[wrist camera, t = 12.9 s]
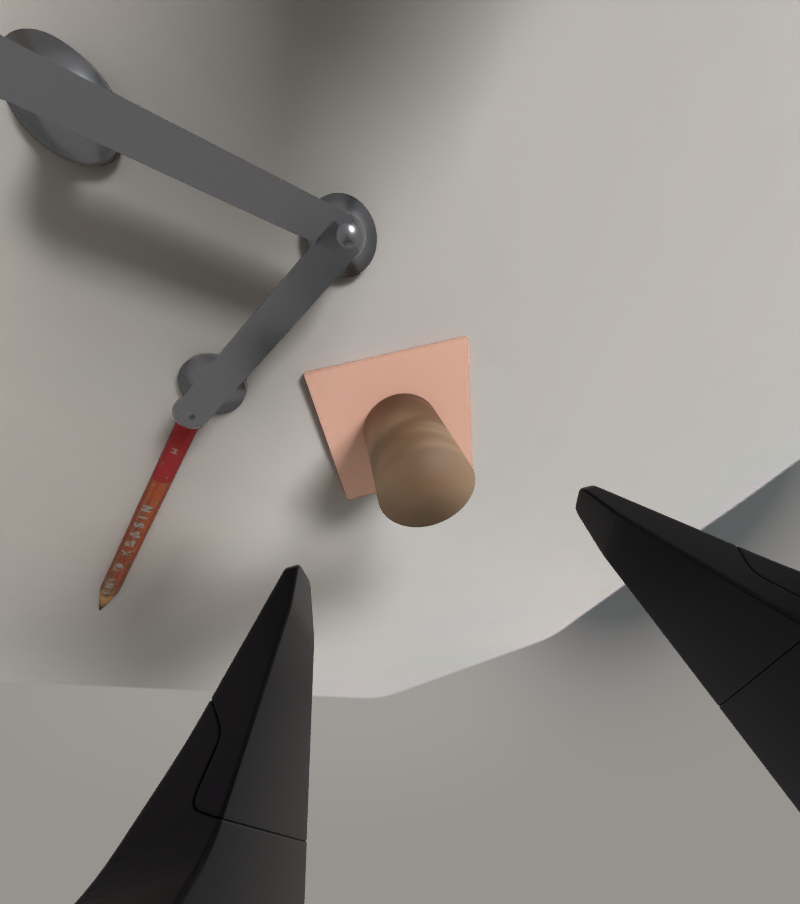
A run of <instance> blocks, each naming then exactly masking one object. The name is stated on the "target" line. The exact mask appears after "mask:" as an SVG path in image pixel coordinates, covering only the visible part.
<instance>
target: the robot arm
mask: <svg viewBox="0 0 800 904" xmlns="http://www.w3.org/2000/svg"><path fill="white" fill-rule="evenodd" d="M576 511H577V513H578V515H579V517H580V518H581V520H582V522H583V523H584V525H585V526H586V528H587V530H588V531H589V533H590V535H591V536H592V538H593V539H594V541H595V543H596V544H597V546H598V548H599V549H600V551H601V552H602V554H603V555H604V557H605V558H606V559H607V561H608V562H609V563H610V565H611V566H612V567H613V569H614V570H615V571H616V572H617V574H618V575H619V576H620V578H621V579H622V580H623V582H624V583H625V584H626V586H627V587H628V588H629V589H630V591H631V592H632V593H633V595H634V596H635V597H636V599H637V600H638V601H639V602H640V604H641V605H642V606H643V608H644V609H645V610H646V612H647V613H648V614H649V616H650V617H651V618H652V619H653V621H654V622H655V623H656V625H657V626H658V627H659V629H660V630H661V631H662V633H663V634H664V635H665V636H666V638H667V639H668V640H669V642H670V643H671V644H672V646H673V647H674V648H675V650H676V651H677V652H678V653H679V655H680V656H681V657H682V659H683V660H684V661H685V662H686V664H687V665H688V667H689V668H690V669H691V670H692V672H693V673H694V674H695V676H696V677H697V678H698V680H699V681H700V682H701V683H702V685H703V686H704V687H705V688H706V690H707V691H708V692H709V694H710V695H711V697H712V698H713V699H714V701H715V702H716V703H717V704H718V705H719V706H720V709H721V710H722V711H723V713H724V714H725V715H726V717H727V718H728V719H729V720H730V722H731V723H732V724H733V726H734V727H735V728H736V730H737V731H738V732H739V734H740V735H741V736H742V737H743V739H744V740H745V741H746V743H747V744H748V745H749V747H751V749H752V750H753V752H754V753H755V754H756V756H757V757H758V758H759V759H760V761H761V762H762V763H763V765H764V766H765V767H766V769H767V770H768V771H769V773H770V774H771V775H772V777H773V778H774V779H775V781H776V782H777V783H778V784H779V786H780V787H781V788H782V790H783V791H784V792H785V794H786V795H787V796H788V798H789V799H790V800H791V801H792V803H793V804H794V805H795V807H796V808H797V809H798V811H799V812H800V571H797V570H795V569H792V568H789V567H787V566H784V565H782V564H779V563H777V562H775V561H772V560H770V559H767V558H765V557H762V556H760V555H757V554H755V553H753V552H750V551H748V550H746V549H743V548H741V547H736V546H735V545H734V544H731V543H729V542H726V541H724V540H722V539H720V538H717V537H715V536H712V535H710V534H708V533H705V532H703V531H701V530H698V529H696V528H694V527H691V526H689V525H686V524H684V523H682V522H679V521H677V520H675V519H672V518H670V517H668V516H665V515H663V514H661V513H658V512H656V511H653V510H651V509H649V508H646V507H644V506H642V505H639V504H637V503H635V502H632V501H630V500H627V499H625V498H623V497H620V496H618V495H616V494H613V493H611V492H609V491H606V490H604V489H601V488H599V487H597V486H588V487H584V488H581V489H580V490H579V494H578V498H577V503H576ZM313 656H314V630H313V616H312V602H311V588H310V582H309V580H308V578H307V576H306V574H305V573H304V571H303V569H302V568H301V566H300V565H295V566H292V567H288V568H286V569H285V570H284V571H283V573H282V575H281V577H280V578H279V580H278V582H277V584H276V586H275V587H274V589H273V591H272V593H271V594H270V596H269V598H268V600H267V601H266V603H265V605H264V607H263V608H262V610H261V612H260V614H259V616H258V617H257V619H256V621H255V623H254V624H253V626H252V628H251V630H250V631H249V633H248V635H247V637H246V638H245V640H244V642H243V644H242V645H241V647H240V649H239V651H238V653H237V654H236V656H235V658H234V660H233V661H232V663H231V665H230V667H229V668H228V670H227V672H226V674H225V675H224V677H223V679H222V681H221V683H220V684H219V686H218V688H217V690H216V691H215V693H214V695H213V697H212V701H210V702H209V703H208V705H207V707H206V709H205V711H204V712H203V714H202V716H201V718H200V719H199V721H198V723H197V725H196V726H195V728H194V729H193V731H192V733H191V735H190V736H189V738H188V740H187V741H186V743H185V745H184V746H183V748H182V749H181V751H180V753H179V754H178V756H177V757H176V759H175V761H174V762H173V764H172V765H171V767H170V769H169V770H168V771H167V773H166V775H165V776H164V778H163V779H162V781H161V782H160V784H159V785H158V787H157V788H156V790H155V791H154V793H153V795H152V796H151V797H150V799H149V801H148V802H147V804H146V805H145V807H144V808H143V810H142V811H141V813H140V814H139V816H138V817H137V819H136V820H135V822H134V823H133V825H132V827H131V828H130V829H129V831H128V832H127V834H126V836H125V837H124V839H123V840H122V842H121V843H120V845H119V846H118V848H117V849H116V851H115V852H114V854H113V855H112V857H111V858H110V859H109V861H108V862H107V864H106V866H105V867H104V868H103V869H102V871H101V872H100V873H99V875H98V876H97V877H96V879H95V880H94V881H93V882H92V884H91V885H90V886H89V887H88V889H87V890H86V891H85V892H84V894H83V895H82V896H81V897H80V898H79V899H78V900H77V902H76V903H75V904H304V899H305V871H306V845H307V843H306V842H305V841H306V839H307V815H308V788H309V762H310V735H311V708H312V682H313Z"/></svg>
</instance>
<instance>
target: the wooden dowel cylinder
mask: <svg viewBox="0 0 800 904" xmlns="http://www.w3.org/2000/svg"><path fill="white" fill-rule="evenodd" d="M364 435H365V440H366V445H367V450H368V454H369V459H370V464H371V469H372V473H373V478H374V483H375V488H376V493H377V497H378V502H379V505H380V508H381V510H382V512H383V513H384V514H385V515H386V516H387V517H388V518H389V519H390V520H392V521H393V522H395V523H397V524H400V525H403V526H408V527H424V526H430V525H434V524H437V523H440V522H442V521H444V520H446V519H448V518H450V517H451V516H453V515H454V514H456V513H457V512H458V511H459V510H460V509H462V508H463V506H464V505H465V504H466V503H467V501H468V500H469V499H470V497H471V495H472V492H473V490H474V486H475V474H474V470H473V468H472V466H471V464H470V463H469V461H468V460H467V458H466V457H465V455H464V454H463V452H462V450H461V449H460V447H459V446H458V444H457V443H456V441H455V440H454V438H453V437H452V435H451V434H450V432H449V431H448V429H447V428H446V426H445V425H444V423H443V422H442V420H441V419H440V417H439V416H438V414H437V413H436V411H435V410H434V408H433V407H432V405H431V404H430V403H429V402H428V401H427V400H425V399H424V398H422V397H420V396H417V395H414V394H407V393H402V394H395V395H392V396H389V397H387V398H385V399H383V400H381V401H380V402H379V403H377V404H376V405H375V406H374V407H373V408H372V410H371V411H370V412H369V414H368V416H367V418H366V421H365V425H364Z"/></svg>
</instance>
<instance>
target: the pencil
mask: <svg viewBox="0 0 800 904" xmlns="http://www.w3.org/2000/svg"><path fill="white" fill-rule="evenodd" d="M197 429H198V428H197ZM197 429H189V428H185V427H183V426H181V425H179V424H178V423H177V422H176V424H175V426H174V428H173V430H172V433H171V435H170V437H169V439H168V441H167V443H166V446H165V448H164V450H163V452H162V454H161V457H160V459H159V461H158V463H157V465H156V468H155V470H154V472H153V474H152V476H151V478H150V481H149V483H148V485H147V487H146V489H145V492H144V494H143V496H142V498H141V500H140V503H139V505H138V507H137V509H136V511H135V513H134V516H133V518H132V520H131V522H130V524H129V527H128V529H127V531H126V533H125V535H124V538H123V540H122V542H121V544H120V546H119V548H118V551H117V553H116V555H115V557H114V559H113V562H112V564H111V566H110V568H109V570H108V573H107V575H106V577H105V579H104V581H103V583H102V586H101V589H100V604H99V610H101V609H102V608H103V607H104V606H105V605H106V604H107V603H108V602H109V601H110V600H111V599H112V598H113V597H114V596H115V595H116V594H117V593H118V592H119V590H120V587H121V585H122V583H123V581H124V579H125V577H126V575H127V573H128V571H129V569H130V567H131V565H132V563H133V561H134V559H135V557H136V555H137V553H138V550H139V548H140V546H141V544H142V542H143V540H144V538H145V536H146V534H147V532H148V530H149V528H150V526H151V524H152V522H153V520H154V518H155V516H156V513H157V511H158V509H159V507H160V505H161V503H162V501H163V499H164V497H165V495H166V493H167V491H168V489H169V487H170V485H171V483H172V481H173V479H174V477H175V474H176V472H177V470H178V468H179V466H180V464H181V462H182V460H183V458H184V456H185V454H186V452H187V450H188V448H189V446H190V444H191V442H192V440H193V437H194V435H195V433H196V431H197Z"/></svg>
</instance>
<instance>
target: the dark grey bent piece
mask: <svg viewBox="0 0 800 904" xmlns="http://www.w3.org/2000/svg"><path fill="white" fill-rule="evenodd" d="M0 99H4V100H6V101H7V103H8V104H9V106H10V108H11V110H12V111H13V113H14V114H15V116H16V117H17V119H18V120H19V121H20V123H21V124H22V125H23V126H24V127H25V129H26V130H27V131H28V132H29V133H30V134H31V135H32V136H33V137H34V138H35V139H36V140H37V141H39V142H40V143H41V144H42V145H43V146H45V147H46V148H48V149H49V150H51V151H52V152H54V153H56V154H57V155H59V156H61V157H63V158H66V159H68V160H71V161H74V162H77V163H80V164H84V165H89V166H100V165H104V164H107V163H109V162H111V161H113V160H114V159H115V158H116V157H117V156H118V154H119V153H121V154H123V155H125V156H127V157H129V158H132V159H134V160H136V161H138V162H140V163H142V164H145V165H147V166H149V167H151V168H153V169H156V170H158V171H160V172H162V173H164V174H166V175H169V176H171V177H173V178H175V179H177V180H179V181H182V182H184V183H186V184H188V185H190V186H192V187H195V188H197V189H199V190H201V191H203V192H205V193H208V194H210V195H212V196H214V197H216V198H218V199H221V200H223V201H225V202H227V203H229V204H231V205H234V206H236V207H238V208H240V209H242V210H244V211H247V212H249V213H251V214H253V215H255V216H257V217H260V218H262V219H264V220H266V221H268V222H270V223H273V224H275V225H277V226H279V227H281V228H283V229H286V230H288V231H290V232H292V233H294V234H296V235H299V236H301V237H303V238H305V239H307V242H308V246H309V249H308V251H307V252H306V253H305V254H304V255H303V257H302V258H301V259H300V260H299V261H298V262H297V264H296V265H295V266H294V267H293V268H292V269H291V271H290V272H289V273H288V274H287V275H286V277H285V278H284V279H283V280H282V281H281V282H280V284H279V285H278V286H277V287H276V288H275V289H274V291H273V292H272V293H271V294H270V295H269V297H268V298H267V299H266V300H265V301H264V302H263V304H262V305H261V306H260V307H259V308H258V309H257V311H256V312H255V313H254V314H253V315H252V317H251V318H250V319H249V320H248V321H247V322H246V324H245V325H244V326H243V327H242V328H241V329H240V331H239V332H238V333H237V334H236V335H235V337H234V338H233V339H232V340H231V341H230V342H229V344H228V345H227V346H226V347H225V348H224V349H223V351H222V352H221V353H220V354H219V355H216V354H199V355H196V356H194V357H192V358H190V359H189V360H188V361H187V362H186V363H185V364H183V366H182V367H181V369H180V371H179V374H178V384H179V388H180V390H181V392H182V394H183V395H184V396H183V397H182V398H180V399H178V400H177V401H176V402H175V403H174V405H173V408H172V415H173V418H174V420H175V421H176V422H177V423H178V424H179V425H181V426H183V427H185V428H189V429H197V428H201V427H203V426H204V425H206V424H207V423H208V422H209V420H210V418H211V416H212V415H213V414H214V413H226V412H230V411H232V410H234V409H236V408H237V407H238V406H239V405H240V404H241V403H242V401H243V399H244V397H245V395H246V391H247V383H246V378H247V376H248V375H249V374H250V373H251V372H252V371H253V370H254V369H255V368H256V366H257V365H258V364H259V363H260V362H261V361H262V360H263V359H264V358H265V356H266V355H267V354H268V353H269V352H270V351H271V350H272V349H273V348H274V346H275V345H276V344H277V343H278V342H279V341H280V340H281V339H282V338H283V337H284V335H285V334H286V333H287V332H288V331H289V330H290V329H291V328H292V327H293V325H294V324H295V323H296V322H297V321H298V320H299V319H300V318H301V317H302V315H303V314H304V313H305V312H306V311H307V310H308V309H309V308H310V307H311V305H312V304H313V303H314V302H315V301H316V300H317V299H318V298H319V297H320V295H321V294H322V293H323V292H324V291H325V290H326V289H327V288H328V287H329V286H330V284H331V283H332V282H333V281H334V280H335V279H336V278H337V277H338V276H340V277H351V276H354V275H357V274H359V273H360V272H362V271H363V270H364V269H366V267H367V266H368V265H369V264H370V262H371V261H372V259H373V256H374V254H375V250H376V243H377V235H376V229H375V225H374V222H373V219H372V217H371V215H370V213H369V212H368V210H367V209H366V207H365V206H364V205H363V204H362V203H361V202H360V201H358V200H357V199H356V198H354V197H352V196H350V195H347V194H343V193H332V194H329V195H326V196H324V197H323V198H321V199H319V198H317V197H315V196H313V195H311V194H309V193H307V192H305V191H303V190H301V189H299V188H297V187H295V186H293V185H291V184H289V183H287V182H286V181H284V180H282V179H280V178H278V177H276V176H274V175H272V174H270V173H268V172H266V171H264V170H262V169H260V168H258V167H256V166H254V165H252V164H250V163H249V162H247V161H245V160H243V159H241V158H239V157H237V156H235V155H233V154H231V153H229V152H227V151H225V150H223V149H221V148H219V147H217V146H215V145H214V144H212V143H210V142H208V141H206V140H204V139H202V138H200V137H198V136H196V135H194V134H192V133H190V132H188V131H186V130H184V129H182V128H180V127H179V126H177V125H175V124H173V123H171V122H169V121H167V120H165V119H163V118H161V117H159V116H157V115H155V114H153V113H151V112H149V111H147V110H145V109H143V108H142V107H140V106H138V105H136V104H134V103H132V102H130V101H128V100H126V99H124V98H122V97H120V96H118V95H116V94H114V93H112V91H111V89H110V88H109V86H108V85H107V83H106V82H105V80H104V79H103V78H102V76H101V75H100V74H99V73H98V71H97V70H96V69H95V68H94V67H93V66H92V65H91V64H90V63H89V62H88V61H87V60H86V59H85V58H84V57H82V56H81V55H80V54H79V53H77V52H76V51H75V50H74V49H72V48H71V47H70V46H68V45H67V44H65V43H64V42H63V41H61V40H59V39H58V38H56V37H54V36H52V35H50V34H48V33H45V32H42V31H39V30H35V29H19V30H15V31H13V32H11V33H9V34H8V35H6V36H5V37H3V36H1V35H0Z"/></svg>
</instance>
